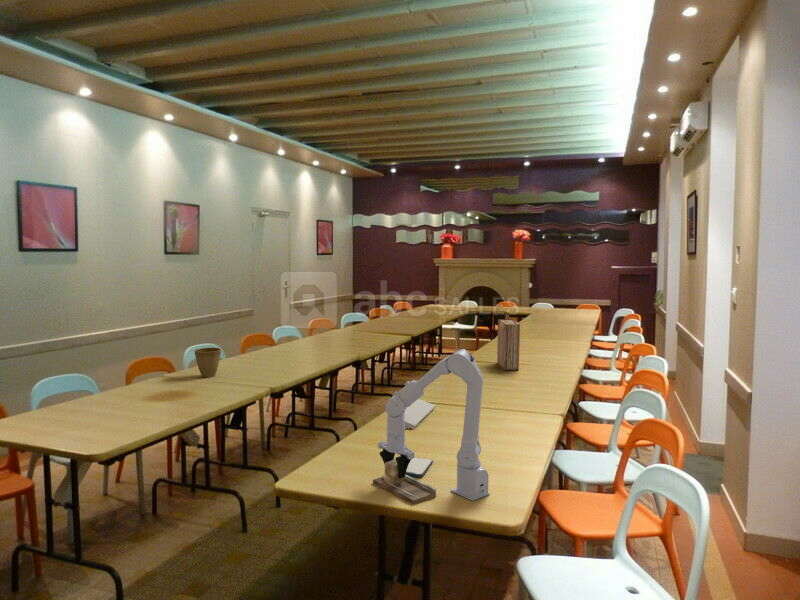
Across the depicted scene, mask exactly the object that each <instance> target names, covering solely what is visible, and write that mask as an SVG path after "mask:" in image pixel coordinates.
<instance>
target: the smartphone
mask: <svg viewBox="0 0 800 600" xmlns="http://www.w3.org/2000/svg"><path fill="white" fill-rule="evenodd" d="M433 460H434V459H430V458H421V457H415V456H414V458H413V459H411V461H410V463H409V465H408V467H407V470H406V475H408V476H410V477H412V478H414V479H422V478H424V476H425V475H426V474H425V473H427V472H428V471H429V470H430V468H431V467H432V465H433V464H434V461H433ZM432 463H433V464H432ZM430 466H431V467H430Z"/></svg>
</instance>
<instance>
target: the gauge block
mask: <svg viewBox="0 0 800 600" xmlns="http://www.w3.org/2000/svg"><path fill="white" fill-rule="evenodd" d="M384 476H385V481H386V482H388V483H390V484H393V485H394V484H397V483H399V482H402V481H404V480H405V477H404V478H401V479H400V478H399V476H398V465H397V461H396V458H394V460H391V461H389V462H386V463H385V465H384Z"/></svg>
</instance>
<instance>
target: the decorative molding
mask: <svg viewBox="0 0 800 600" xmlns="http://www.w3.org/2000/svg"><path fill="white" fill-rule="evenodd" d="M435 408H436V405H435V404H433V403H431V402H427V401H425V400H422V399H421V398H419V399H418V400H416V401H415V402H414V403H413V404H412V405H410V406H409V407H407V408H406V410H405V429H407V428H411V430H414V429H415V428H416V427H417V426H418V425H419V424H420V423H421V422H422V421H423V420H424V419H425V418H426V417H427V416H428V415H429V414H430V413H431V412H432V411H433V410H434V409H435Z"/></svg>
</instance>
